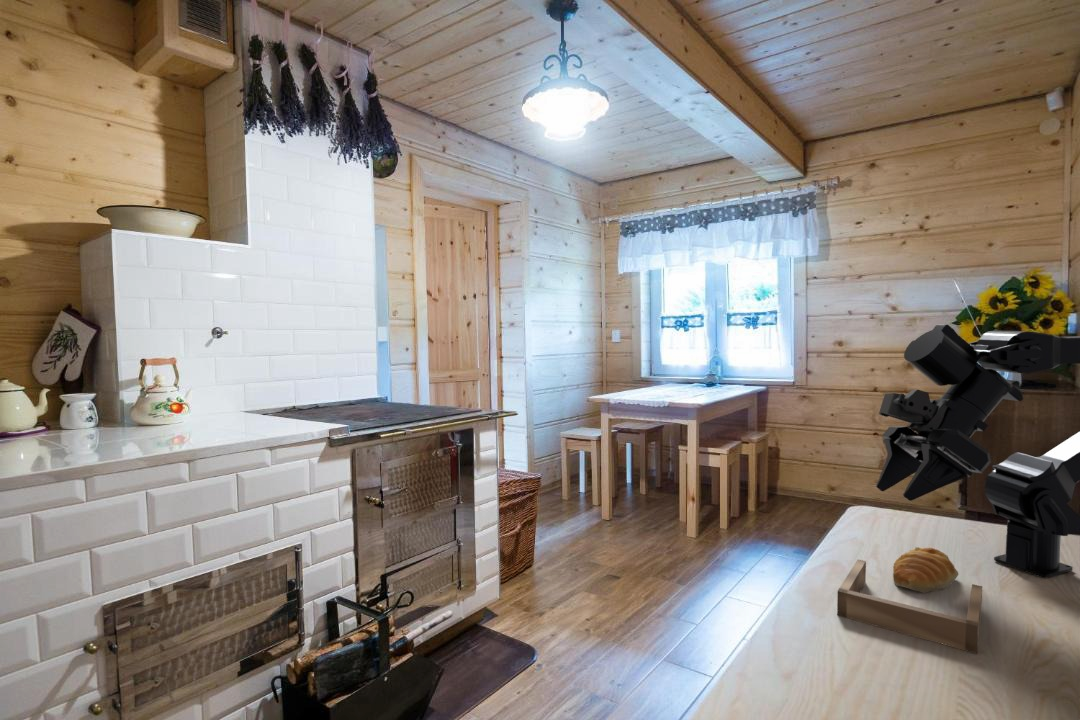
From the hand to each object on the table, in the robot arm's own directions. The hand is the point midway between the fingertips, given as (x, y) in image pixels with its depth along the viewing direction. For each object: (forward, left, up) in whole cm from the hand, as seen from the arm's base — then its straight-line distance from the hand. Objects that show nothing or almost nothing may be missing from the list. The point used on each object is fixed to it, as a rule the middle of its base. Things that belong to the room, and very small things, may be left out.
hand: (892, 493), depth 81 cm
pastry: (-1, +4, -11) cm, 12 cm away
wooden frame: (+8, +9, -11) cm, 16 cm away
